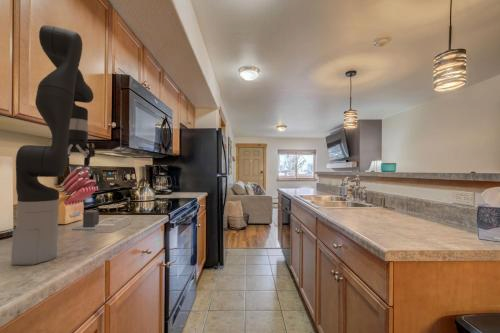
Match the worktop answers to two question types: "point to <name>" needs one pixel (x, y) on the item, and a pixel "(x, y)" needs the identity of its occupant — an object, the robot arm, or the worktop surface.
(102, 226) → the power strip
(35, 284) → the worktop surface
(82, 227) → the trivet
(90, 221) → the charger
